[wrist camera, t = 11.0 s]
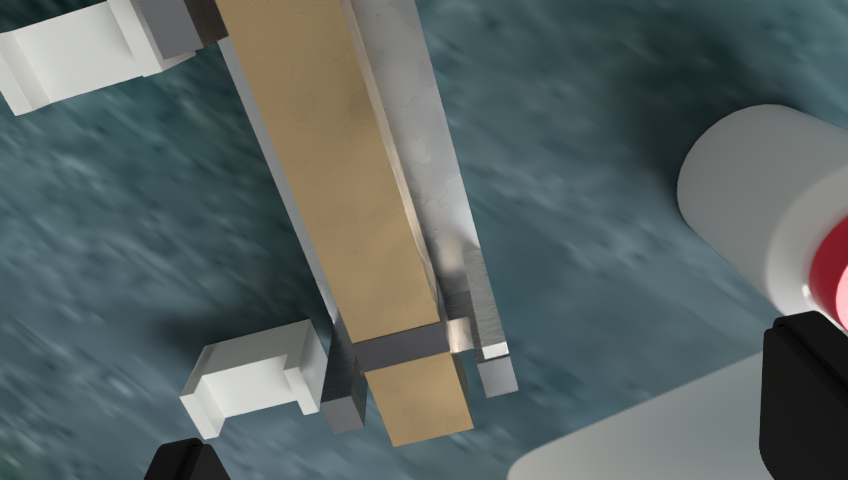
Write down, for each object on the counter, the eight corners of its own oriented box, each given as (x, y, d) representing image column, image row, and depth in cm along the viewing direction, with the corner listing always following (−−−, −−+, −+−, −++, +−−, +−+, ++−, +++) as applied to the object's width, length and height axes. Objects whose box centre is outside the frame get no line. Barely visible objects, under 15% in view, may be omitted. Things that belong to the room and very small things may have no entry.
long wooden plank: (220, -63, 23) (186, -67, 19) (322, -96, 23) (306, -106, 19) (393, 392, 33) (392, 447, 29) (466, 374, 32) (475, 428, 29)
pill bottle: (705, 93, 29) (863, 163, 19) (851, 115, 30) (1074, 194, 20) (656, 235, 33) (769, 358, 23) (789, 252, 33) (954, 378, 23)
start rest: (34, 28, 27) (-29, 41, 23) (167, -14, 26) (125, -8, 22) (225, 385, 36) (204, 439, 32) (327, 360, 35) (318, 411, 31)
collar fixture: (189, -34, 26) (94, -30, 18) (388, -98, 25) (382, -122, 17) (351, 361, 35) (337, 483, 27) (500, 323, 35) (531, 437, 26)
